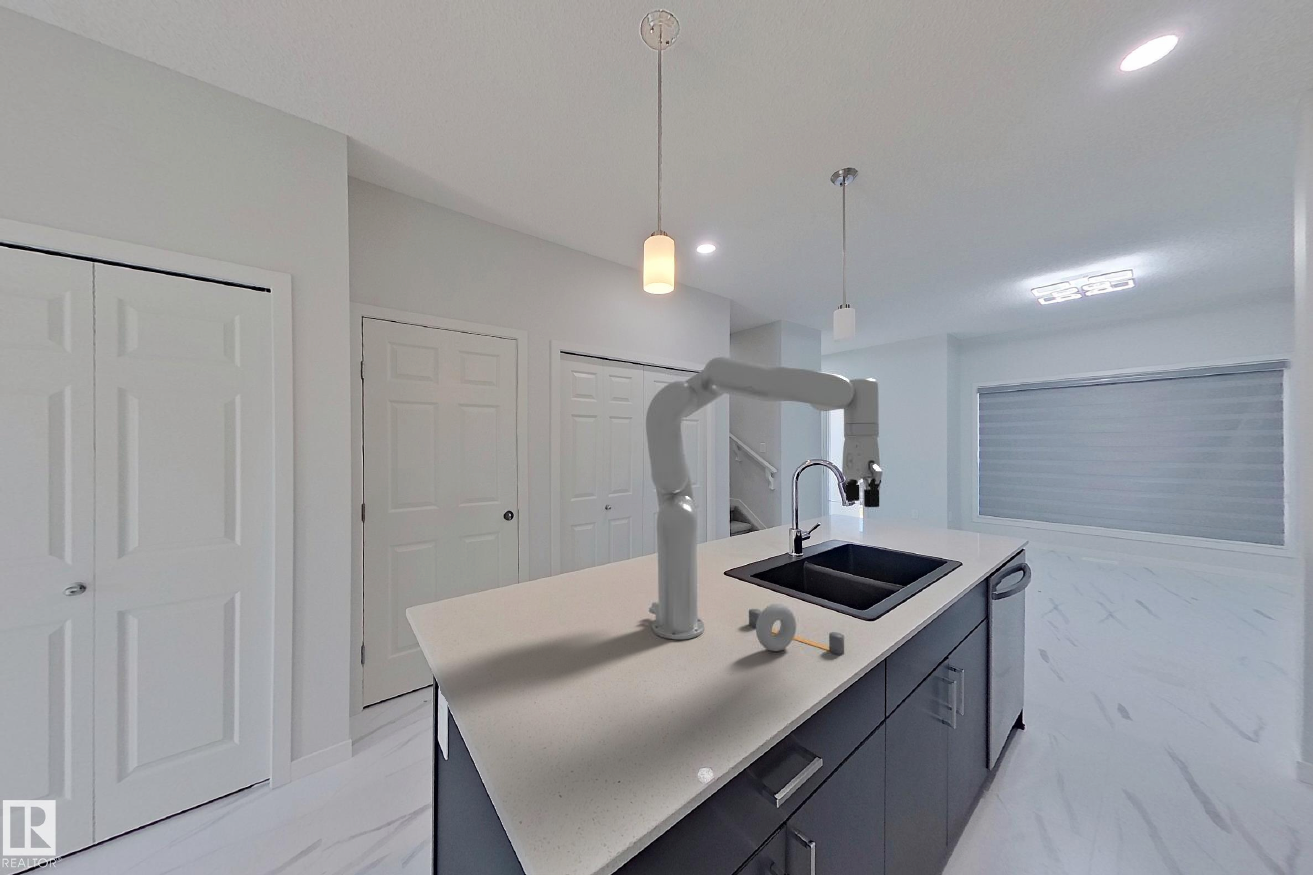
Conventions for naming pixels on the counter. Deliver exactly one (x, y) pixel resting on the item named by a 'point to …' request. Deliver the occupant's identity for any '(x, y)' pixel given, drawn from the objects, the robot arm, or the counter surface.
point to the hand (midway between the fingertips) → (861, 503)
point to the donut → (785, 632)
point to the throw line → (834, 639)
